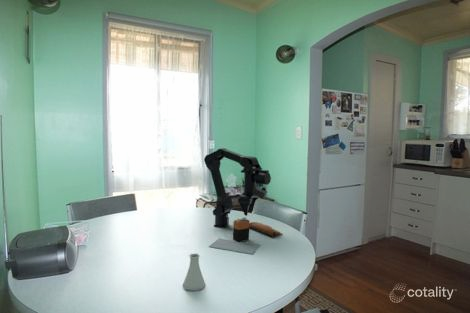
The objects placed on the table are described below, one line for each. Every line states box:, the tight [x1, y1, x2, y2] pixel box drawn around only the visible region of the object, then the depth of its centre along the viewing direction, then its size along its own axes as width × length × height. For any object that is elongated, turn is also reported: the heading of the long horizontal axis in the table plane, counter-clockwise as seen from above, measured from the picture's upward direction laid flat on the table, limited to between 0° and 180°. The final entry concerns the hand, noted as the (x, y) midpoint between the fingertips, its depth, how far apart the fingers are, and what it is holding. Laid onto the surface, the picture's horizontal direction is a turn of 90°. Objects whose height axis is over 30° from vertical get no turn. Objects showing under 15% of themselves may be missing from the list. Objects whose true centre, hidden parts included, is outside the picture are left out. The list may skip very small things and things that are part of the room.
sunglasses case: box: [249, 221, 283, 239], centre depth 147 cm, size 18×7×7 cm, turn 39°
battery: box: [232, 217, 251, 242], centre depth 134 cm, size 4×7×10 cm, turn 133°
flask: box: [182, 253, 206, 292], centre depth 92 cm, size 7×7×10 cm
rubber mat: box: [208, 237, 261, 256], centre depth 126 cm, size 20×11×1 cm, turn 69°
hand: (248, 213), depth 144 cm, fingers open, 9 cm apart
